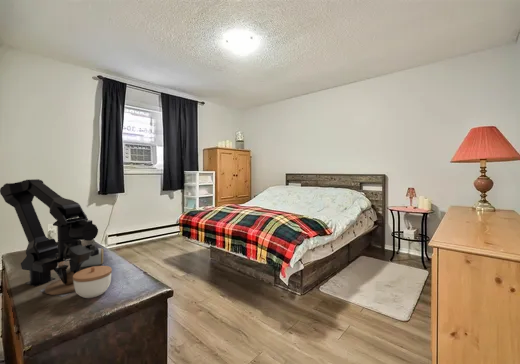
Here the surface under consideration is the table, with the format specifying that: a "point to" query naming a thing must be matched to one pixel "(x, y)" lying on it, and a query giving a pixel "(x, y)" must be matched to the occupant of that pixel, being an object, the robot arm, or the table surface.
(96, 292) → the lidded jar
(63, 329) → the table surface
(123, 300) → the table surface
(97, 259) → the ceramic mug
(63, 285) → the lid
